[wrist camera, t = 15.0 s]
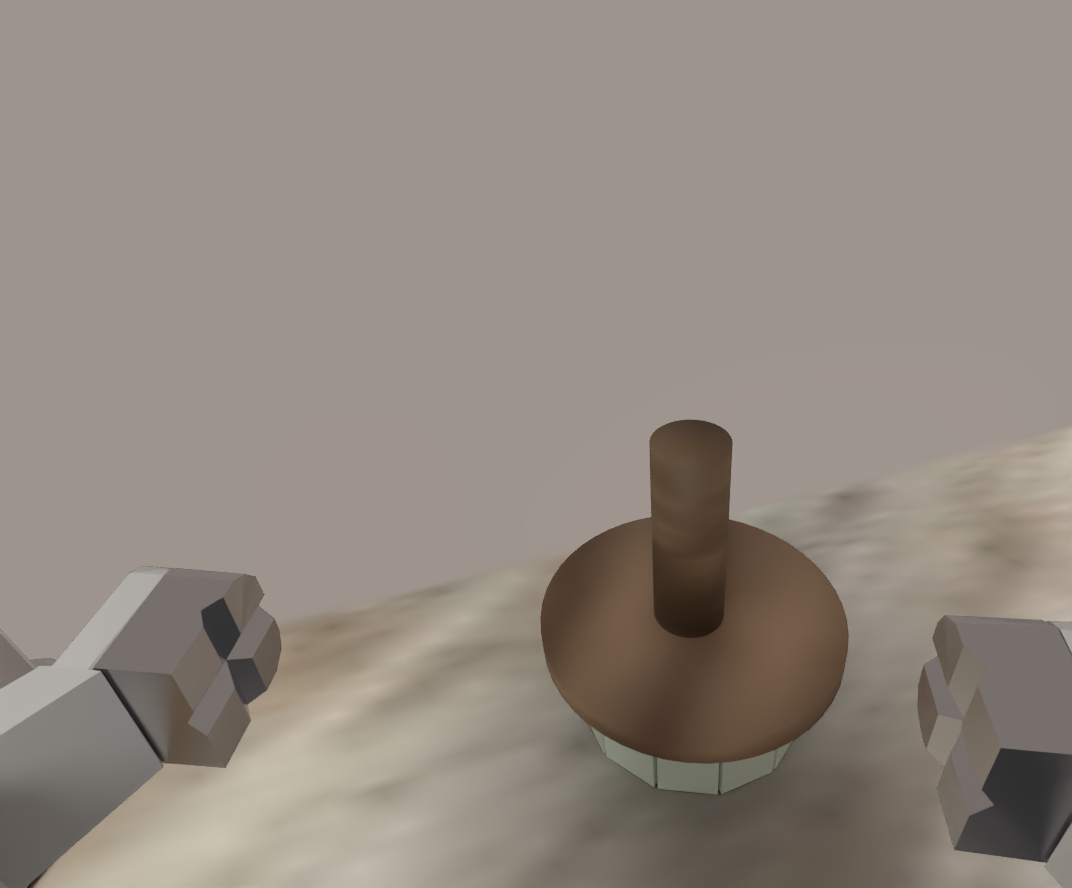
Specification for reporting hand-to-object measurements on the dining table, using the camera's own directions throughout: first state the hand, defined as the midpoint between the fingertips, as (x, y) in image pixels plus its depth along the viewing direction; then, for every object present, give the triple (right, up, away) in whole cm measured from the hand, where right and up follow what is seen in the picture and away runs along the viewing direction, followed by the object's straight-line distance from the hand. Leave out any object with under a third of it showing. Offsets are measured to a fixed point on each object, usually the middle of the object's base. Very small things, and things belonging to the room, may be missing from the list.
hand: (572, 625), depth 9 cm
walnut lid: (+6, -6, +24) cm, 26 cm away
